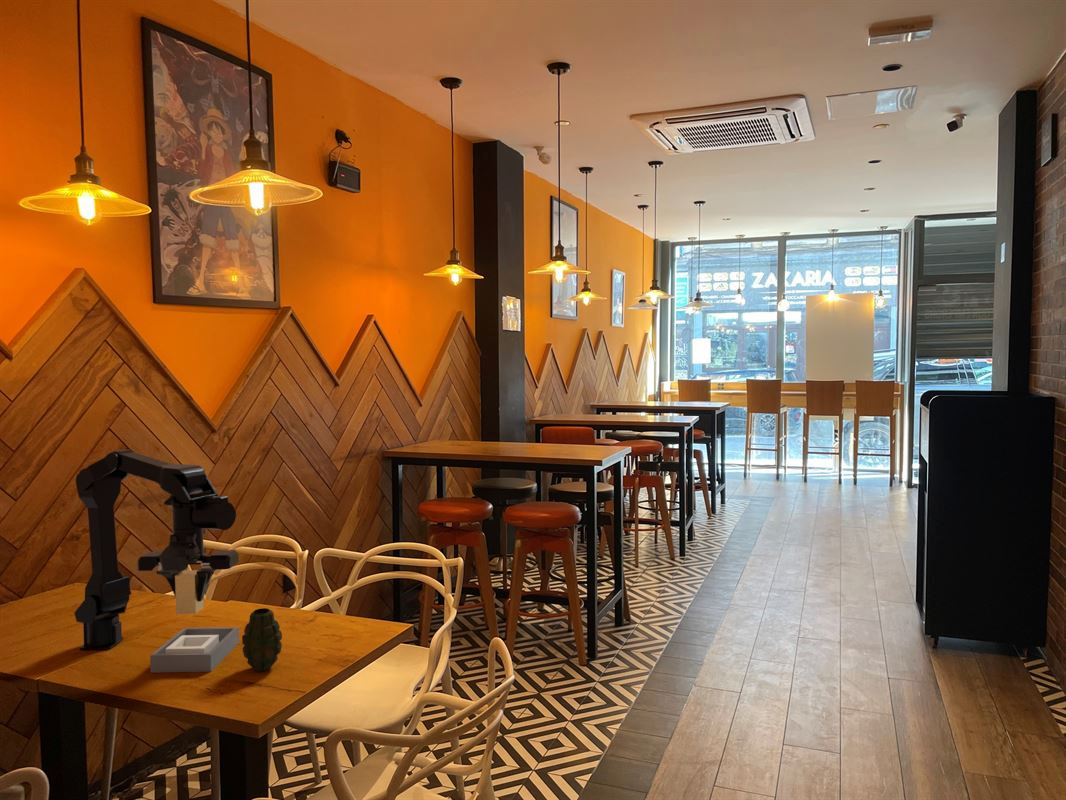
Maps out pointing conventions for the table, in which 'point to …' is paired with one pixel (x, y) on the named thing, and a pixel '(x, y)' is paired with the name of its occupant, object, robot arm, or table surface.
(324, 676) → the table surface
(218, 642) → the walled frame
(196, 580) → the peg
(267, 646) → the grenade
